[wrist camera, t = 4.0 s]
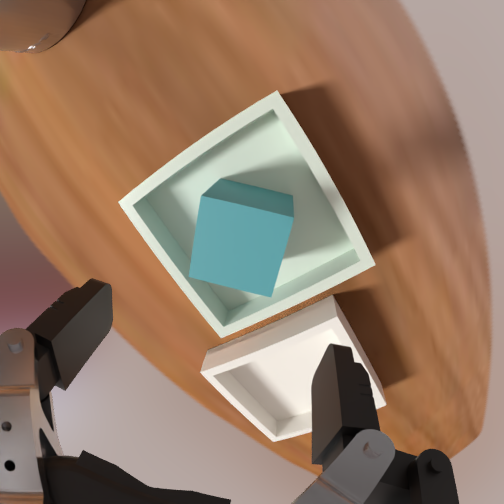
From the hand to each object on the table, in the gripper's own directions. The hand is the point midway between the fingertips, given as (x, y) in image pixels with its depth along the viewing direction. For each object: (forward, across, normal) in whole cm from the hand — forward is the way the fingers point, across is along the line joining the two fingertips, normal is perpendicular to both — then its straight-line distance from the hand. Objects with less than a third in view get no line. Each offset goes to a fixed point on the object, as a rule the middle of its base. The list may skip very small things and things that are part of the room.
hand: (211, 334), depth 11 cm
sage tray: (+13, 0, 0) cm, 13 cm away
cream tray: (+13, -7, +13) cm, 20 cm away
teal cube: (+12, 0, 0) cm, 12 cm away
